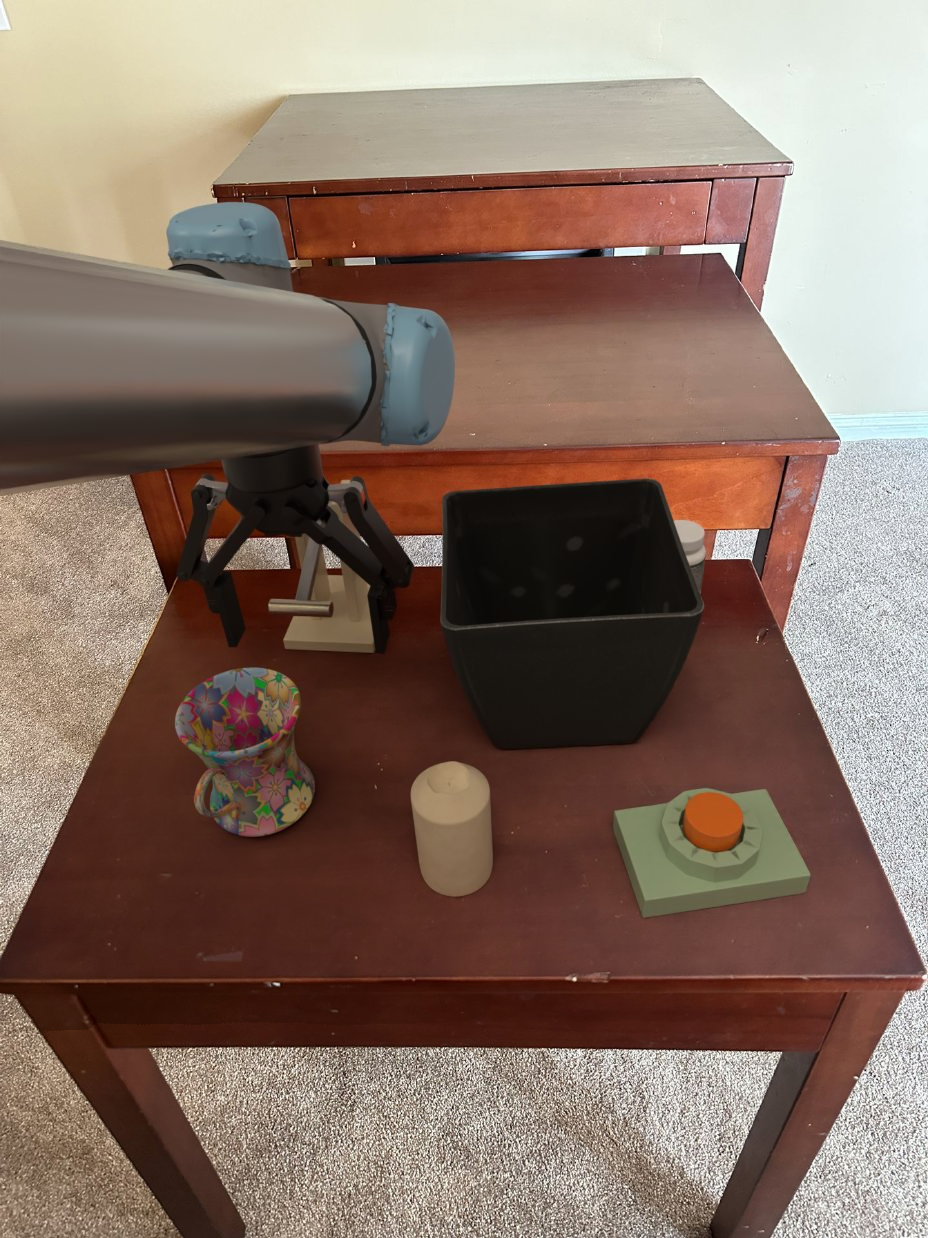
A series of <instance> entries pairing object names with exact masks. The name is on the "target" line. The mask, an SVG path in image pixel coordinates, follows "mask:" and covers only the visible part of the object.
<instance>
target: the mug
mask: <svg viewBox="0 0 928 1238" xmlns="http://www.w3.org/2000/svg"><path fill="white" fill-rule="evenodd" d="M301 708H302V698H301V692H300V690H299V688H298V686H297V684H295V682H294V681H293V680H292V679H290V678H289V677H288V676H287V675H285V674H283V673H281V672H279V671H276V670H273V669H270V668H264V667H241V668H235V669H231V670H227V671H224V672H220V673H218V674H216V675H214V676H211V677H209V678H207V679H206V680H203V681H202V682H200V683H199V684H198V685H196V686H195V687H194V688H193V689H191V690H190V691H189V692H188V694H186V696H185V697H184V698H183V699H182V700H181V702H180V704H179V706H178V708H177V710H176V714H175V717H174V718H175V719H174V727H175V732H176V734H177V737H178V738H179V740H180V742H181V743H182V744H183V745H184V746H185V747H186V748H188V749H189V750H190V751H192V752H193V753H195V754H196V756H198V757H199V758H200V760H202V762H203V763H204V765H205V767H206V768H207V770H206V771H205V772H204V773H203V774H202V775H201V777H200V778H199V780H198V782H197V785H196V787H195V791H194V795H193V804H194V808H195V810H196V811H197V812H198V813H199V815H201V816H203V817H205V818H209V819H213V820H214V821H215V822H216V824H217V825H218V826H219V827H220V828H222V829H223V830H225V831H226V832H227V833H230V834H233V835H236V836H240V837H246V838H247V837H249V838H255V837H256V838H258V837H265V836H268V835H273V834H275V833H279V832H281V831H283V830H285V829H287V828H288V827H291V825H293V824H295V823H296V822H297V821H298V820H299V819H300V818H301V817H302V816H303V815H304V814H305V813H306V812H307V811H308V809H309V808H310V806H311V805H312V802H313V799H314V796H315V792H316V781H315V778H314V775H313V773H312V771H311V769H310V768H309V767H308V765H307V764H306V763H304V761H302V760H301V759H300V757H299V756H298V753H297V750H296V746H295V729H296V724H297V721H298V718H299V715H300V713H301ZM211 780H212V789H211V791H210V797H209V810H210V811H209V810H208V809H207V807H206V805H205V795H206V791H207V788H208V786H209V784H210V782H211Z"/></svg>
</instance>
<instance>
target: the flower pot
mask: <svg viewBox="0 0 928 1238" xmlns="http://www.w3.org/2000/svg"><path fill="white" fill-rule="evenodd" d="M441 522H442V523H441V525H442V527H441V529H442V532H441V533H442V539H441V540H442V541H441V542H442V545H441V548H442V549H441V551H442V552H441V553H442V554H441V589H440V591H441V593H440V617H439V618H440V625H441V630H442V634H443V638H444V641H445V644H446V647H447V651H448V655H449V657H450V661H451V663H452V666H453V669H454V671H455V675H456V677H457V679H458V681H459V682H458V683H459V685H460V687H461V689H462V692H463V694H464V697H465V699H466V701H467V703H468V706H469V707H470V709H471V710H472V713H473V716H475V718H476V720H477V722H478V724H479V725H480V727H481V729H482V730H483V732H484V733H485V735H486V736H487V738H488V739H489V741H490V742H491V744H492V745H493V746H494V747H495V748H497V749H499V750H505V751H506V750H518V749H519V750H521V749H522V750H523V749H540V748H560V747H561V748H563V747H579V746H580V747H581V746H601V745H617V744H618V745H619V744H632V743H635V742H638V740H639V739H640V738H641V737H642V736H643V735H644V734H645V732H646V731H647V730H648V729H649V727H650V725H651V724H652V722H653V721H654V719H656V717H657V715H658V713H659V712H660V711H661V709H662V707H663V705H664V704H665V702H666V701H667V699H668V697H669V696H670V694H671V692H672V690H673V689H674V686H675V684H676V683H677V681H678V678H679V677H680V674H681V672H682V669H683V667H684V665H685V663H686V661H687V658H688V656H689V653H690V651H691V649H692V646H693V643H694V640H695V637H696V635H697V633H698V629H699V626H700V623H701V619H702V617H703V613H704V610H705V603H704V600H703V597H702V595H701V594H700V592H699V589H698V586H697V584H696V581H695V578H694V576H693V573H692V570H691V568H690V565H689V562H688V560H687V557H686V554H685V551H684V549H683V546H682V543H681V540H680V537H679V535H678V532H677V529H676V526H675V523H674V517H673V513H672V511H671V508H670V505H669V502H668V499H667V497H666V494H665V491H664V488H663V485H662V483H661V482H660V481H658V480H656V479H654V478H630V479H612V480H599V481H598V480H597V481H584V482H583V481H582V482H580V481H579V482H565V483H553V484H537V485H521V486H509V487H508V486H507V487H492V488H476V489H475V488H474V489H463V490H454V491H453V490H452V491H449V492H446V493H445V494H444V495H443V496H442V498H441Z"/></svg>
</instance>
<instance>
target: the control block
mask: <svg viewBox="0 0 928 1238" xmlns="http://www.w3.org/2000/svg"><path fill="white" fill-rule="evenodd" d="M704 792H715V793H720V794H723V795H725V796H727V797H729V798H731V799H732V800H733V801H735V802H736V803H737V804H738V806H739V807H740V809H741V811H742V813H743V824H742V828H741V833H740V837H739V840H738V842H737V843H736V844H735V845H734V846H733V847H732V848H730V849H728V850H725V851H721V852H712V851H707V850H703V849H701V848H699V847H697V846H695V845H694V844H693V843H691V842H690V841H689V839H688V838H687V837H686V835H685V833H684V830H683V820H684V814H685V808H686V805H687V803H688V801H689V800H690V799H691V798H692V797H693V796H695V795H697V794H700V793H704ZM612 830H613V833H614V837H615V840H616V843H617V845H618V848H619V851H620V854H621V857H622V860H623V863H624V866H625V869H626V873H627V874H628V878H629V882H630V885H631V887H632V890H633V894H634V896H635V900H636V902H637V905H638V908H639V911H640V914H641V918H643V919H647V918H652V917H653V918H654V917H658V916H660V917H661V916H665V915H672V914H679V913H685V912H691V911H697V910H705V909H711V908H718V907H724V906H730V905H736V904H742V903H743V904H744V903H749V902H755V901H762V900H768V899H776V898H781V897H788V896H795V895H800V894H806V892H807V889H808V886H809V884H810V883H809V882H810V879H811V876H812V874H811V872H810V870H809V868H808V867H807V865H806V863H805V861H804V858H803V857H802V855H801V853H800V850H799V849H798V848H797V847H798V846H797V845H796V843H795V842H794V840H793V837H792V836H791V834H790V832H789V830H788V828H787V827H786V824H785V823H784V821H783V818H782V817H781V815H780V813H779V811H778V809H777V807H776V805H775V804H774V802H773V799H772V798H771V796H770V794H769V792H768V789H766V788H762V789H753V790H747V791H740V792H734V793H729V792H726V791H723V790H722V791H721V790H718V789H713V788H710V787H703V788H697V789H689V790H683V791H682V792H681V793H679V794H678V795H677V796H675V797H674V798H673V799H670V801H668V802H664V803H657V804H651V805H644V806H637V807H631V808H624V809H623V808H622V809H616V810H614V812H613V821H612Z"/></svg>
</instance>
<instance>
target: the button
mask: <svg viewBox="0 0 928 1238" xmlns="http://www.w3.org/2000/svg"><path fill="white" fill-rule="evenodd" d="M742 824H743V813H742V811H741V809H740V807H739V806H738V804H737V803H736V802H735V801H733V800H732V799H731V798H729V797H727V796H725V795H723V794H720V793H715V792H704V793H700V794H697V795H695V796H693V797H692V798H691V799H690V800H689V801H688V803H687V805H686V808H685V814H684V820H683V830H684V833H685V835H686V837H687V838H688V839H689V841H690V842H691V843H693V844H694V845H695V846H697V847H699V848H701V849H703V850H707V851H712V852H721V851H725V850H728V849H730V848H732V847H733V846H734V845H735V844H736V843H737V842H738V840H739V837H740V833H741V828H742Z"/></svg>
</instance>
